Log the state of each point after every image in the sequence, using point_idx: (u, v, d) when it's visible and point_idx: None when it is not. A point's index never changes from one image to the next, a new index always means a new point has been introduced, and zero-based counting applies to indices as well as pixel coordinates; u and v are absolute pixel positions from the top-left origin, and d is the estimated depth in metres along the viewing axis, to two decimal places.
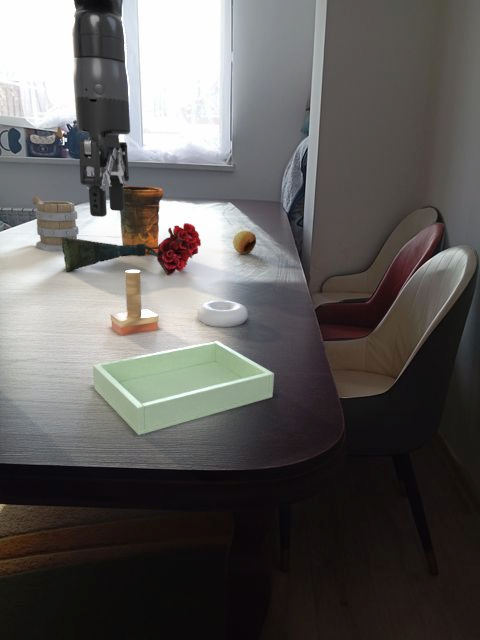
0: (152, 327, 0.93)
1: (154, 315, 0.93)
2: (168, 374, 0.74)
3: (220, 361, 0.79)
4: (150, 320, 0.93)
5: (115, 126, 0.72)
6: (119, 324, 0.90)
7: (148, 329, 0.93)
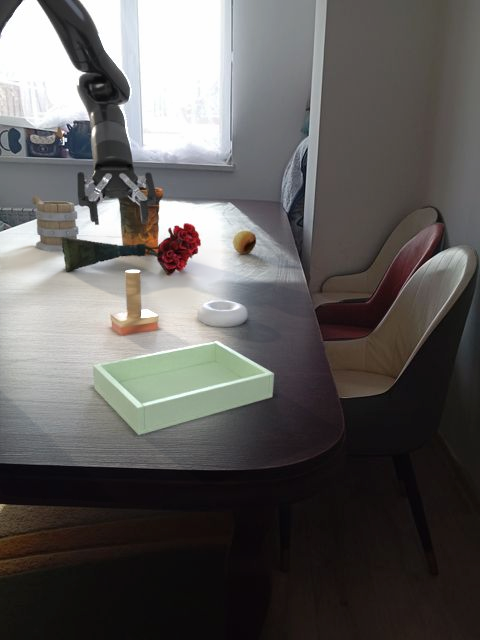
0: (152, 327, 0.93)
1: (154, 315, 0.93)
2: (168, 374, 0.74)
3: (220, 361, 0.79)
4: (150, 320, 0.93)
5: None
6: (119, 324, 0.90)
7: (148, 329, 0.93)
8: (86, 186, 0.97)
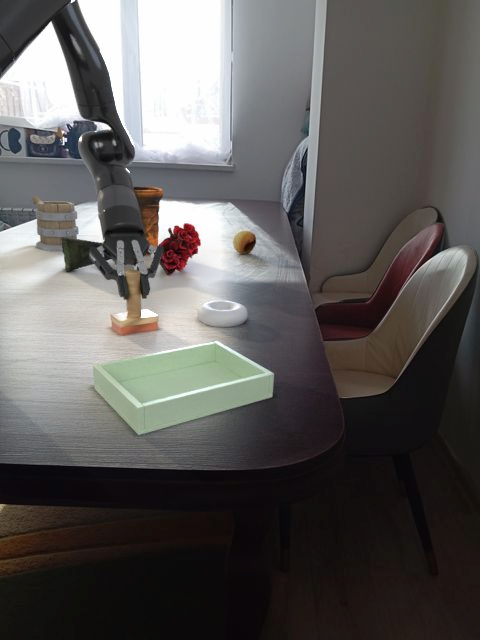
0: (152, 327, 0.93)
1: (154, 315, 0.93)
2: (168, 374, 0.74)
3: (220, 361, 0.79)
4: (150, 320, 0.93)
5: None
6: (119, 324, 0.90)
7: (148, 329, 0.93)
8: None
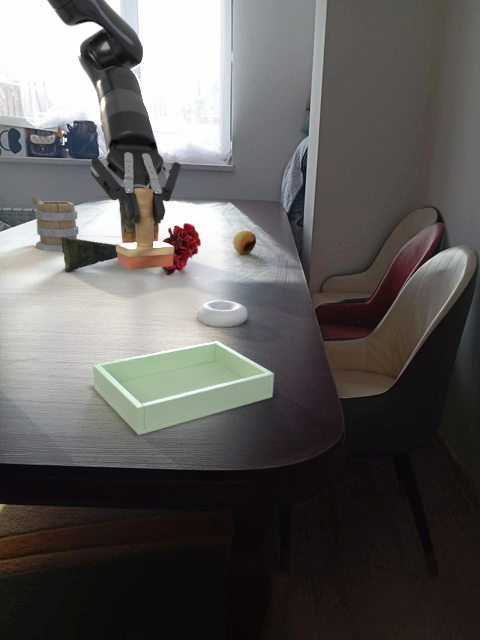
0: (167, 260, 0.77)
1: (169, 246, 0.77)
2: (168, 374, 0.74)
3: (220, 361, 0.79)
4: (164, 251, 0.76)
5: None
6: (127, 253, 0.73)
7: (162, 262, 0.77)
8: None
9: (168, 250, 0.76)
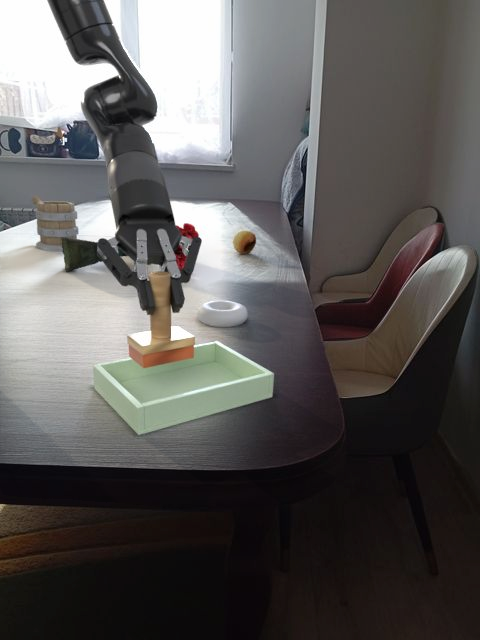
0: (187, 353, 0.66)
1: (189, 336, 0.66)
2: (168, 374, 0.74)
3: (220, 361, 0.79)
4: (184, 343, 0.65)
5: None
6: (140, 349, 0.62)
7: (181, 356, 0.65)
8: None
9: (188, 341, 0.65)
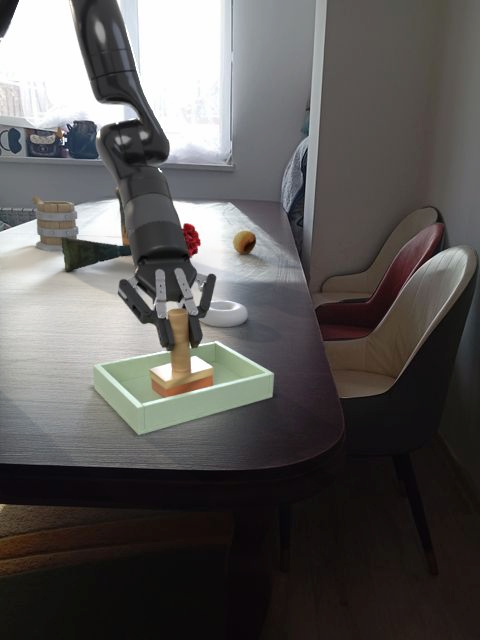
0: (206, 383, 0.69)
1: (208, 367, 0.69)
2: None
3: (220, 361, 0.79)
4: (203, 375, 0.68)
5: None
6: (164, 384, 0.66)
7: (201, 386, 0.69)
8: None
9: (207, 372, 0.69)
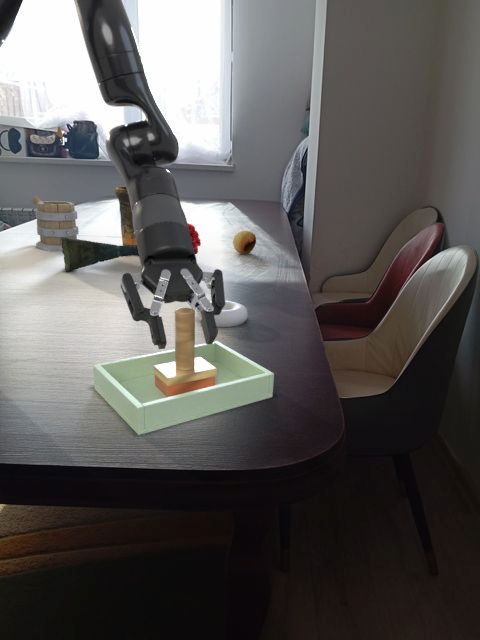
0: (208, 383, 0.70)
1: (211, 367, 0.70)
2: None
3: (220, 361, 0.79)
4: (206, 375, 0.69)
5: None
6: (166, 381, 0.67)
7: (203, 386, 0.70)
8: (136, 291, 0.67)
9: (210, 373, 0.70)
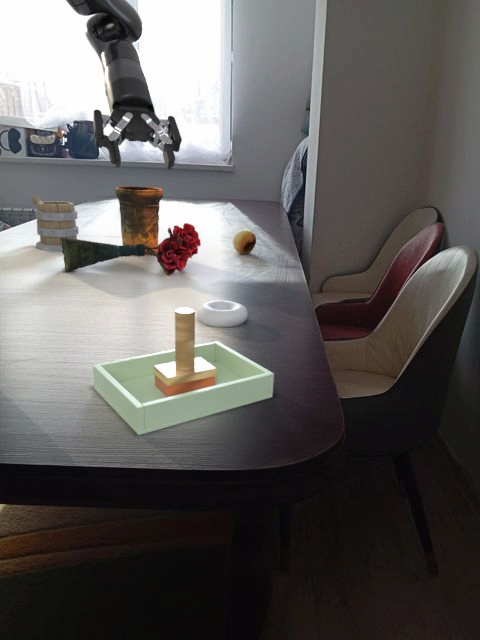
0: (208, 383, 0.70)
1: (211, 367, 0.70)
2: None
3: (220, 361, 0.79)
4: (206, 375, 0.69)
5: None
6: (166, 381, 0.67)
7: (203, 386, 0.70)
8: (103, 126, 0.86)
9: (210, 373, 0.70)
